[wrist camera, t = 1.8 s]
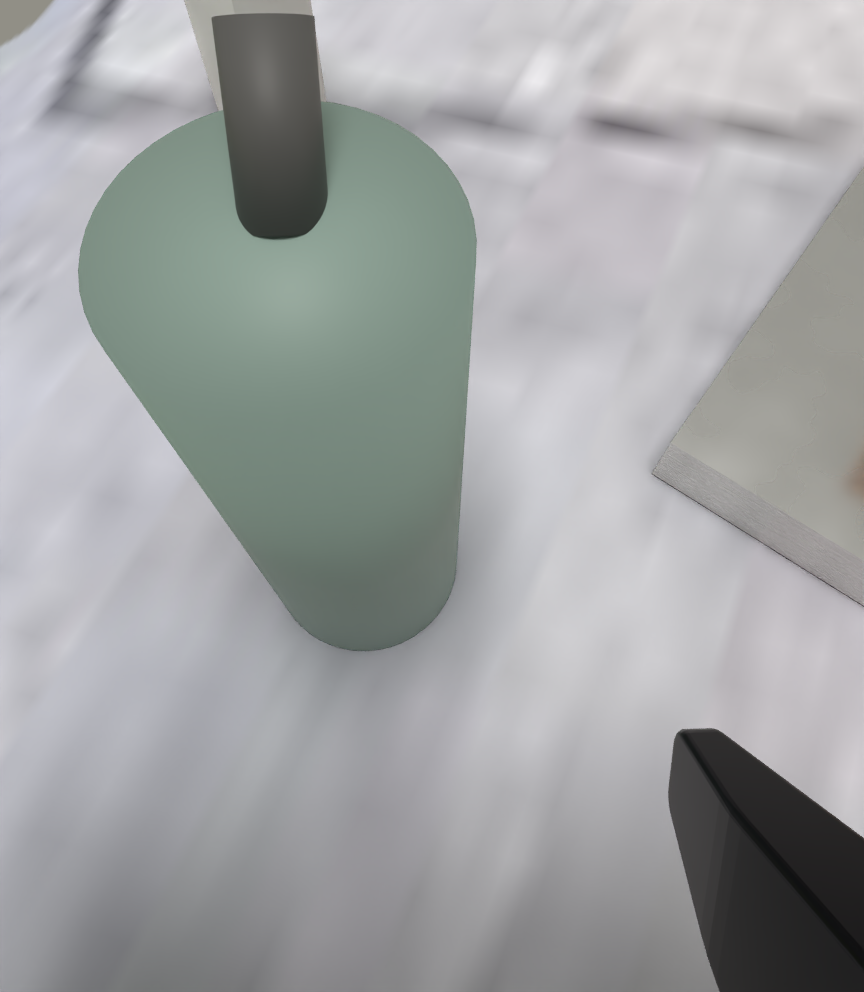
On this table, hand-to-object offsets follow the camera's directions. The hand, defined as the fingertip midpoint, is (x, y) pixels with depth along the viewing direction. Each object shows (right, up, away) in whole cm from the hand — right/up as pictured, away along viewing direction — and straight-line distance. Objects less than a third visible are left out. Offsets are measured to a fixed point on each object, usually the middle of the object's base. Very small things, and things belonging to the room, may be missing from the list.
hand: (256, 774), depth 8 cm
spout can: (0, +1, +14) cm, 14 cm away
